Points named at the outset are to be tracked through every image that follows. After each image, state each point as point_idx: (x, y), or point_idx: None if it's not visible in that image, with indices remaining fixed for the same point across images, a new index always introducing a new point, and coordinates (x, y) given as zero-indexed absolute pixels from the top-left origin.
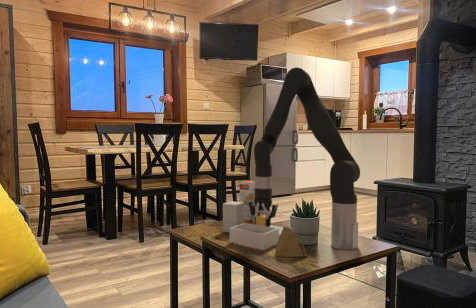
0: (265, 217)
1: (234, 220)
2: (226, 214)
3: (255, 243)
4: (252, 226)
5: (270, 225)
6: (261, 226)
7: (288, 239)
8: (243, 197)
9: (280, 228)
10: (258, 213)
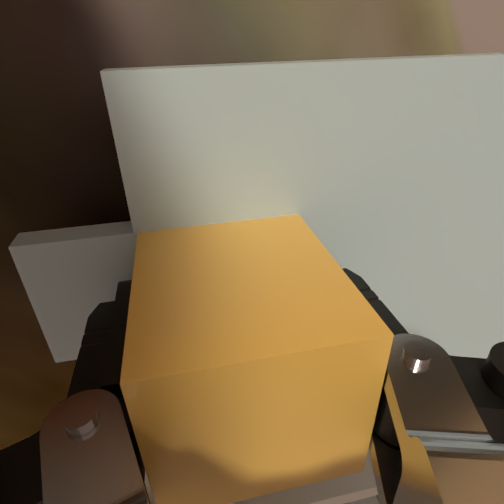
0: (365, 454)
1: None
2: None
3: (375, 501)
4: (251, 501)
5: (245, 97)
6: (369, 490)
7: None
8: None
9: (456, 157)
10: (95, 480)
